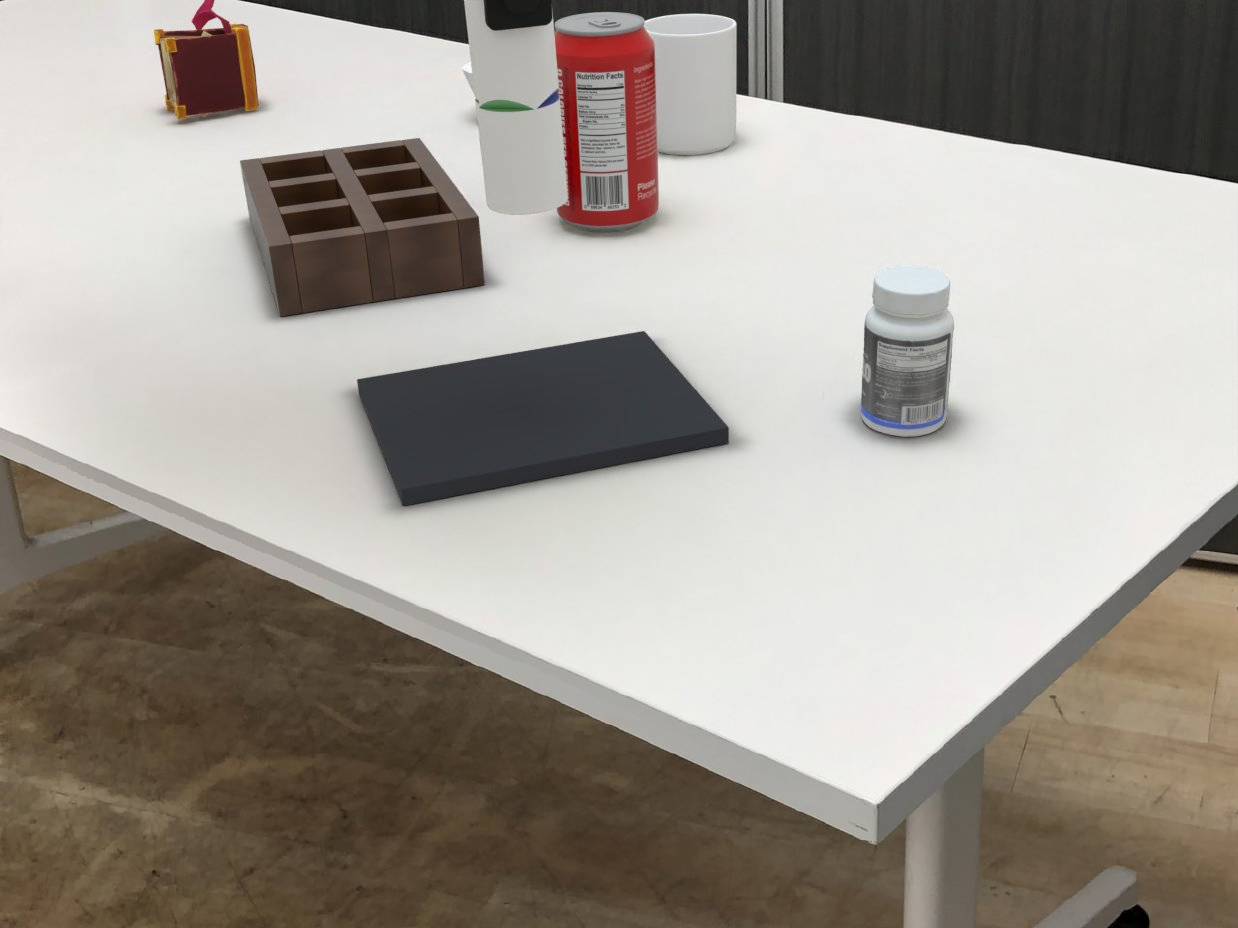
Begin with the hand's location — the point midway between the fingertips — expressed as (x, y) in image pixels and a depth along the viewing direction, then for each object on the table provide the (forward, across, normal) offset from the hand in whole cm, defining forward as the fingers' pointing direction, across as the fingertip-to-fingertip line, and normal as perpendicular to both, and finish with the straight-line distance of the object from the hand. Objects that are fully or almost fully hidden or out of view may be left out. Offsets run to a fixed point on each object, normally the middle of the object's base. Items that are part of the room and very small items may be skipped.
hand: (506, 12), depth 71 cm
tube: (+10, 0, 0) cm, 10 cm away
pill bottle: (+23, +8, +19) cm, 31 cm away
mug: (+23, -46, +25) cm, 57 cm away
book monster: (+23, -79, -12) cm, 83 cm away
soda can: (+23, -30, +14) cm, 40 cm away
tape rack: (+22, -31, -5) cm, 39 cm away
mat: (+22, 0, 0) cm, 22 cm away
